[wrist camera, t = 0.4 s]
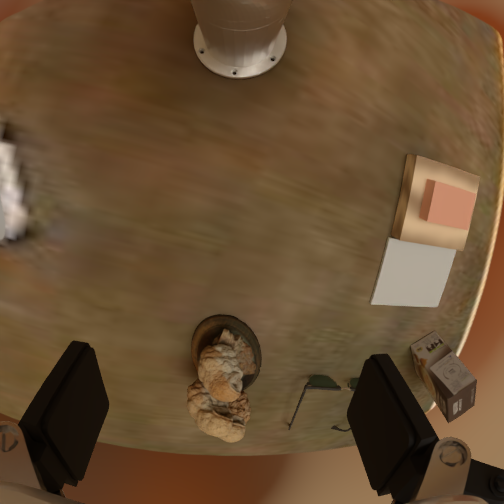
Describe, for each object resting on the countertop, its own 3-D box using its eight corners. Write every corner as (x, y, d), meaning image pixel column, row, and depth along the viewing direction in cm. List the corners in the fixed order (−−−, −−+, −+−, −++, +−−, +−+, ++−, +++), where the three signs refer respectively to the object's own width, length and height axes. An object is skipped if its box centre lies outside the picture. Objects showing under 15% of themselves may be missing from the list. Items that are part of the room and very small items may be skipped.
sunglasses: (275, 424, 60) (278, 442, 55) (301, 368, 54) (306, 386, 50) (343, 427, 62) (348, 443, 57) (376, 374, 56) (384, 390, 51)
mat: (387, 236, 46) (389, 237, 45) (454, 247, 47) (456, 248, 47) (369, 302, 50) (370, 304, 49) (435, 305, 51) (437, 307, 50)
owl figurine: (267, 387, 55) (275, 461, 39) (206, 394, 55) (199, 466, 39) (253, 308, 49) (259, 383, 33) (181, 317, 49) (160, 391, 33)
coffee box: (408, 345, 54) (447, 399, 39) (435, 329, 53) (477, 378, 38) (415, 373, 57) (448, 424, 42) (439, 358, 56) (475, 405, 41)
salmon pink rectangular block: (426, 178, 40) (435, 181, 38) (467, 191, 41) (476, 193, 39) (418, 217, 42) (427, 221, 40) (459, 226, 43) (467, 230, 40)
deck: (407, 153, 42) (417, 155, 39) (469, 174, 43) (480, 177, 40) (391, 234, 46) (399, 240, 43) (453, 245, 47) (463, 250, 44)
